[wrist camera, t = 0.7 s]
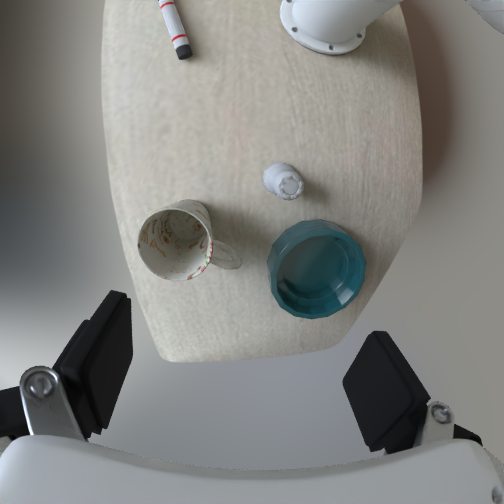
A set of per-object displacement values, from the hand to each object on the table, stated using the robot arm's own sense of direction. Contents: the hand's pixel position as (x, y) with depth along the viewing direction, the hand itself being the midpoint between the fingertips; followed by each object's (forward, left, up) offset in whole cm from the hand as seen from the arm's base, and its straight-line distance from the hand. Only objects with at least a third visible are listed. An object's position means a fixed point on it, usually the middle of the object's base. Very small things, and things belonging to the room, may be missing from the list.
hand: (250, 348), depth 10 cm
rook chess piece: (-2, +6, -29) cm, 30 cm away
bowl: (+11, +10, -29) cm, 32 cm away
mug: (+4, -6, -29) cm, 30 cm away
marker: (-28, -6, -29) cm, 41 cm away
